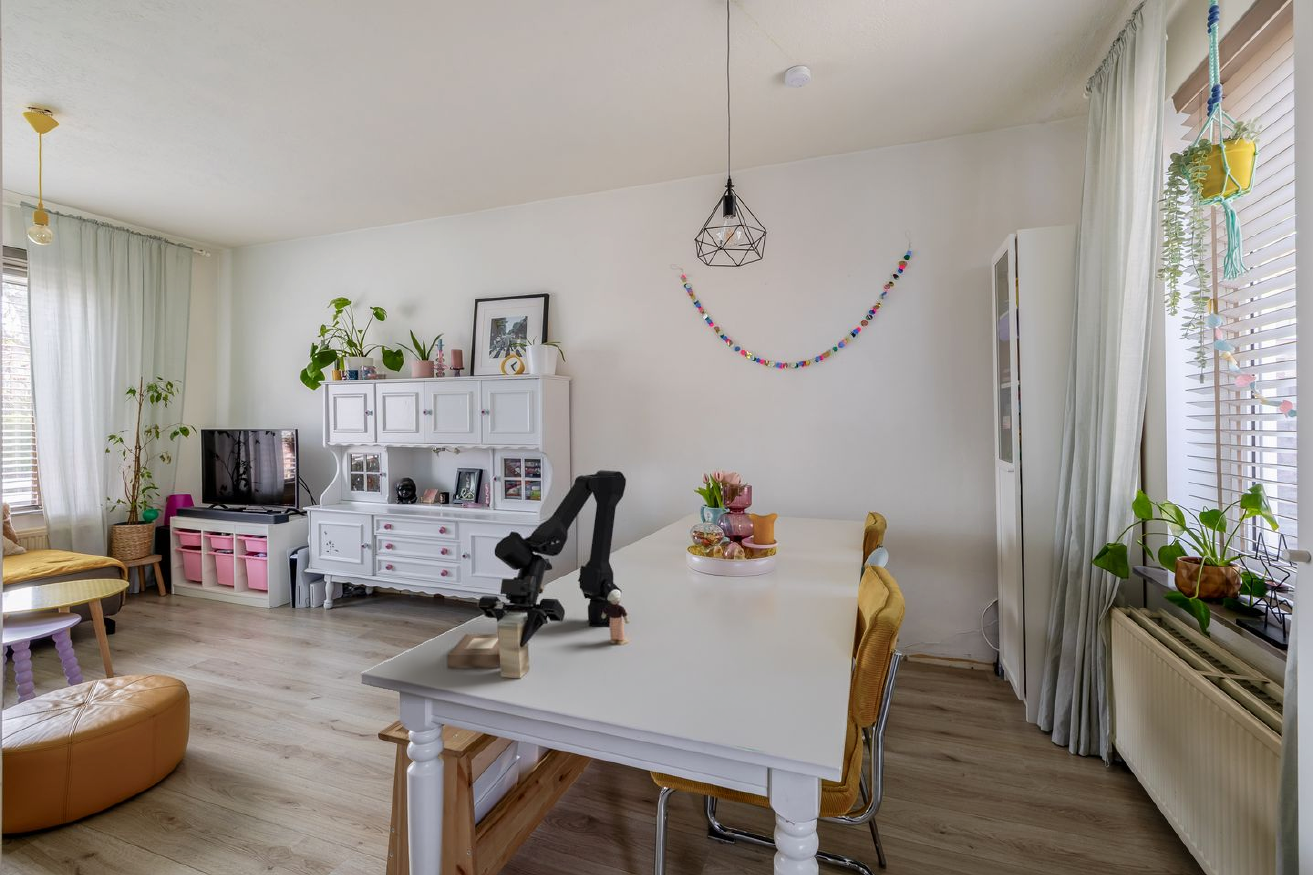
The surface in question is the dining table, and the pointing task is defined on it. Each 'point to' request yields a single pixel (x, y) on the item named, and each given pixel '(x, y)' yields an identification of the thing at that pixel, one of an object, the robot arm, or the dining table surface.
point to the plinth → (475, 652)
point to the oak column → (512, 646)
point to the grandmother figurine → (616, 617)
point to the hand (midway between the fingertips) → (510, 645)
